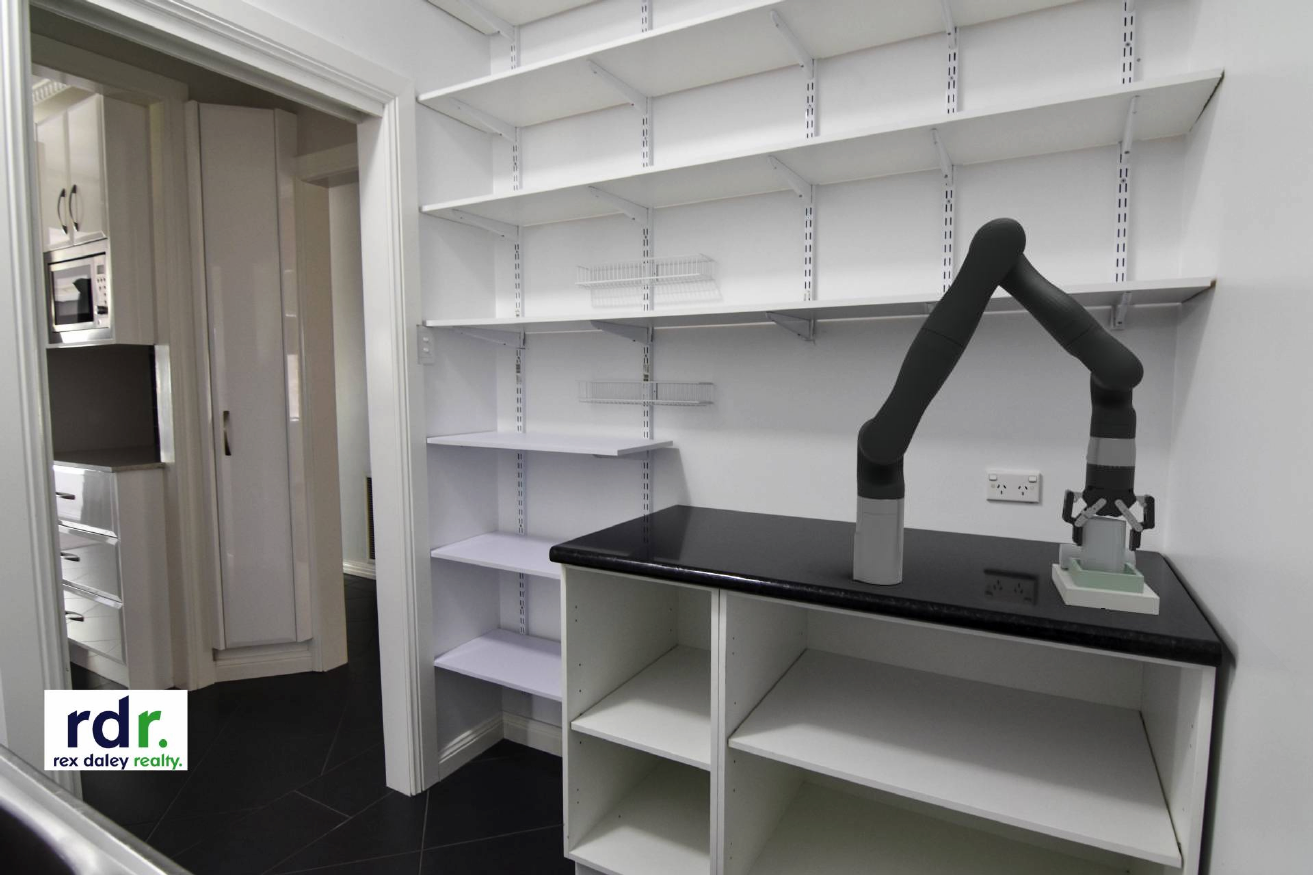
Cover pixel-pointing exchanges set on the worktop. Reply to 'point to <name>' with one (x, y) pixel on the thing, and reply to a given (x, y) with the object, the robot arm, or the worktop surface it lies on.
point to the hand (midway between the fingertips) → (1105, 547)
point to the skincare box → (1103, 545)
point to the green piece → (1107, 578)
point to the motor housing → (1100, 597)
